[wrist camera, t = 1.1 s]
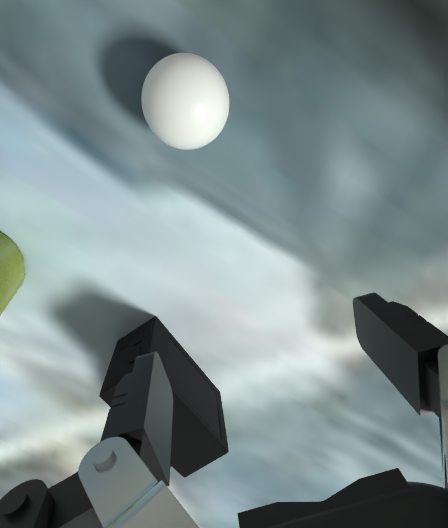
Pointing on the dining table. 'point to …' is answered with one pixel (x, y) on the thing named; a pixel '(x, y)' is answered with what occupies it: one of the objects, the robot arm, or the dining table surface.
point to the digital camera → (176, 396)
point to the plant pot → (9, 270)
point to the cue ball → (185, 101)
